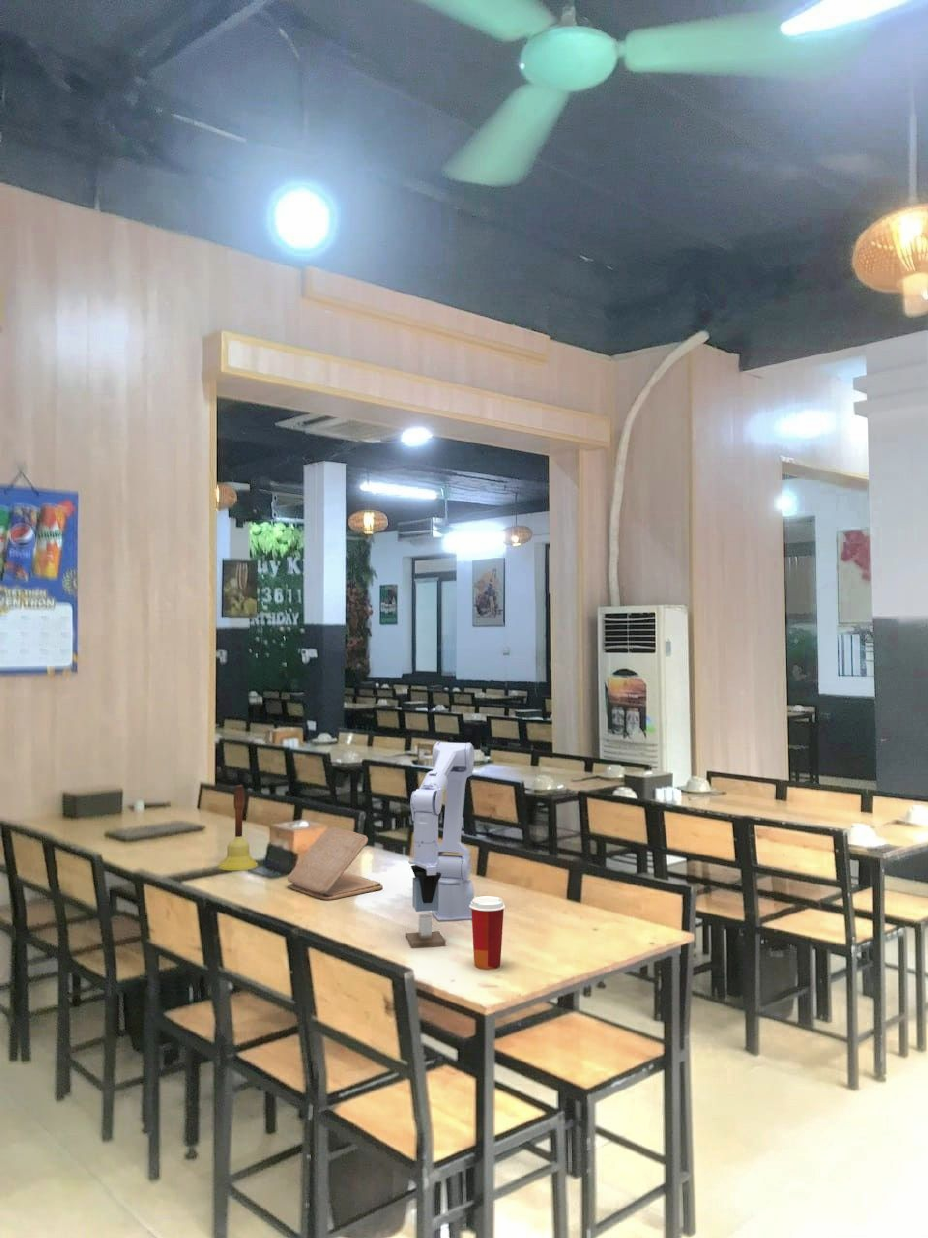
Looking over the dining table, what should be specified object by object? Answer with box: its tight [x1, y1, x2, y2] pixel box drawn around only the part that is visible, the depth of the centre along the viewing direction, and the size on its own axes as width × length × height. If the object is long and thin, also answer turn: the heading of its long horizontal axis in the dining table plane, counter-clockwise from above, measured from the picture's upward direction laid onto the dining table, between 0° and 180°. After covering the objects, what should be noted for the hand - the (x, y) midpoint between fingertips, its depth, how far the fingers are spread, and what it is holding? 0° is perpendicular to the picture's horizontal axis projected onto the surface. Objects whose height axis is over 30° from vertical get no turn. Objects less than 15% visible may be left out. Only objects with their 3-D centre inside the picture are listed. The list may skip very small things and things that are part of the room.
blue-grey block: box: [411, 876, 439, 913], centre depth 224 cm, size 5×5×7 cm
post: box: [418, 913, 433, 939], centre depth 224 cm, size 3×3×5 cm
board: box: [405, 930, 447, 949], centre depth 224 cm, size 8×8×1 cm
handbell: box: [217, 784, 259, 871], centre depth 300 cm, size 12×12×25 cm
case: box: [287, 826, 384, 901], centre depth 272 cm, size 20×21×16 cm
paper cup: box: [469, 895, 506, 971], centre depth 208 cm, size 8×8×14 cm
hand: (425, 899), depth 224 cm, fingers closed on blue-grey block, 5 cm apart
